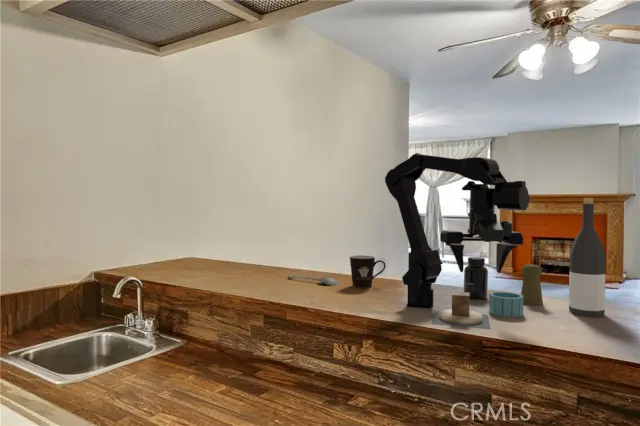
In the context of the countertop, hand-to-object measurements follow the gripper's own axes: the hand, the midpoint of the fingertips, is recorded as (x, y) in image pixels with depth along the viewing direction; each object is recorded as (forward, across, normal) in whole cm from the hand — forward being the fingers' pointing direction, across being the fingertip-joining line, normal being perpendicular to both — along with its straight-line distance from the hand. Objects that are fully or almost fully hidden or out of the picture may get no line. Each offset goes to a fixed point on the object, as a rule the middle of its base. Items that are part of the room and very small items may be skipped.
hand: (480, 272), depth 109 cm
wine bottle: (+12, +30, +5) cm, 33 cm away
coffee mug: (+13, -23, +42) cm, 49 cm away
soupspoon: (+14, -41, +50) cm, 66 cm away
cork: (+12, +21, +16) cm, 29 cm away
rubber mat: (+12, -5, -2) cm, 13 cm away
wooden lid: (+11, -5, -2) cm, 12 cm away
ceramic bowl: (+12, +8, +4) cm, 15 cm away
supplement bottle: (+12, +8, +24) cm, 28 cm away
